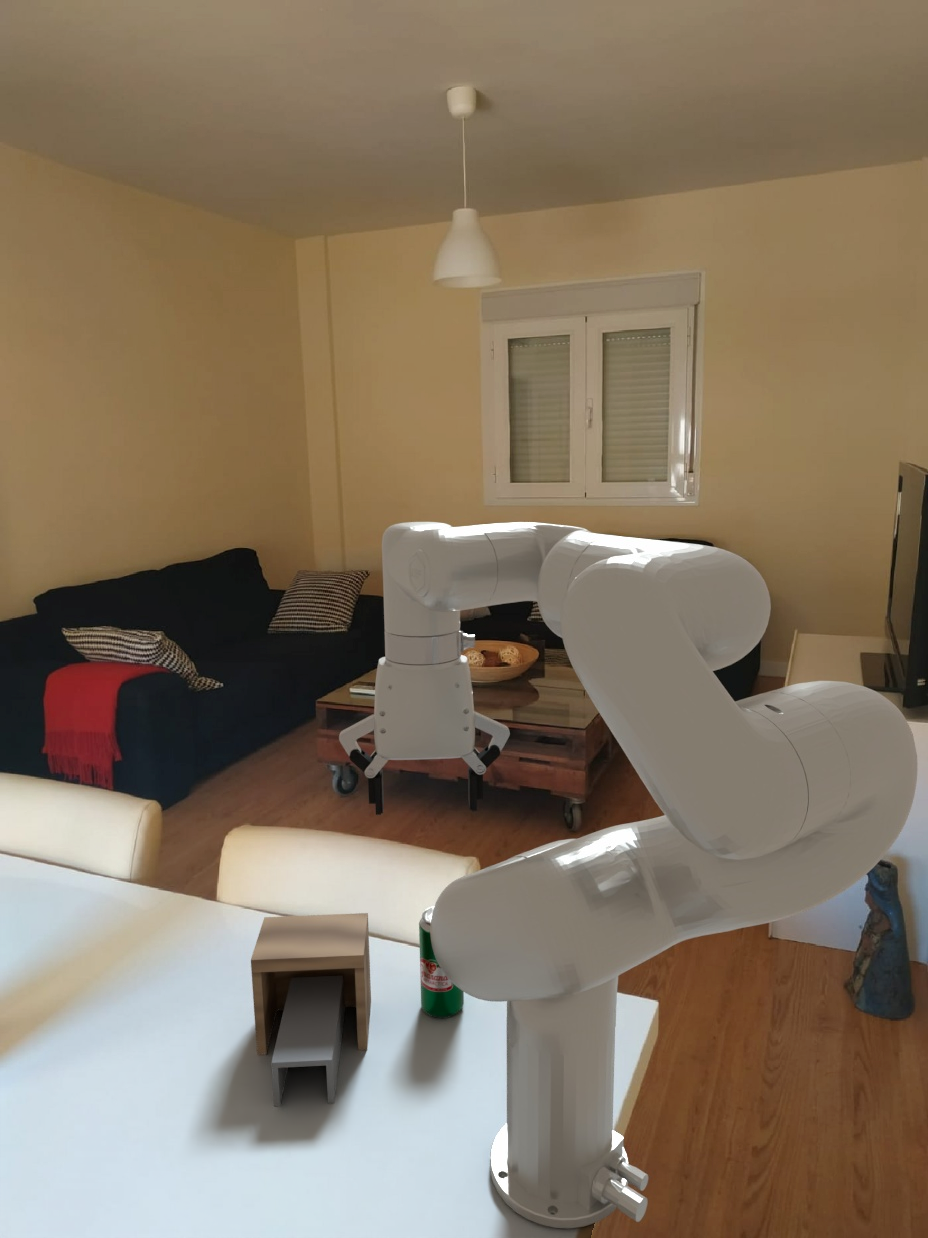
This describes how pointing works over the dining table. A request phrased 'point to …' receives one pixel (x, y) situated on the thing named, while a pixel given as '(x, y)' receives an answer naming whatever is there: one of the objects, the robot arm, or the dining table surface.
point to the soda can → (435, 977)
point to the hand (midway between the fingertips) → (426, 807)
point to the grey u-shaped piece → (310, 1030)
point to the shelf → (310, 965)
